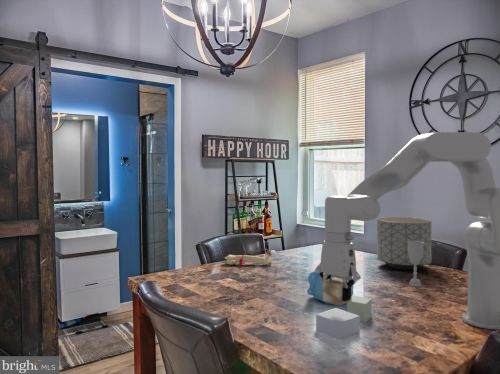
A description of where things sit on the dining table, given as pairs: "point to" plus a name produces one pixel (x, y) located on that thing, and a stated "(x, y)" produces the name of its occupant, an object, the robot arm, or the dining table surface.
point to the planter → (402, 240)
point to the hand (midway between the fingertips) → (337, 297)
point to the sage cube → (360, 307)
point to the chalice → (415, 258)
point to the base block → (337, 323)
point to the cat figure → (247, 259)
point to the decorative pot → (318, 285)
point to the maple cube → (334, 291)
